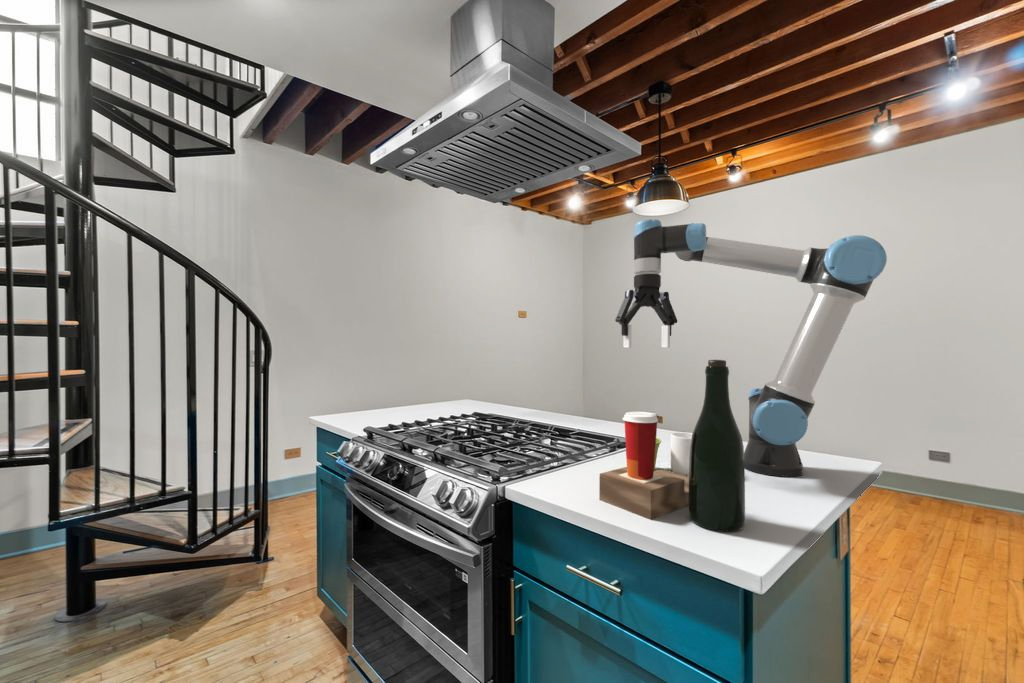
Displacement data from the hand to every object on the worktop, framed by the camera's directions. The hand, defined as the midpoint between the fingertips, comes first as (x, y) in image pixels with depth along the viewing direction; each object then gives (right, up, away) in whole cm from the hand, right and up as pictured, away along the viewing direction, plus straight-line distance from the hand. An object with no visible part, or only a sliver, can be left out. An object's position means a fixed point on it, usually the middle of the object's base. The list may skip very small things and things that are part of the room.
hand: (646, 347), depth 129 cm
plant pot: (-2, -35, -3) cm, 35 cm away
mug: (+10, -35, -7) cm, 37 cm away
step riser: (-5, -35, -26) cm, 44 cm away
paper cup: (-10, -29, -29) cm, 42 cm away
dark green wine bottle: (+2, -35, -39) cm, 53 cm away
